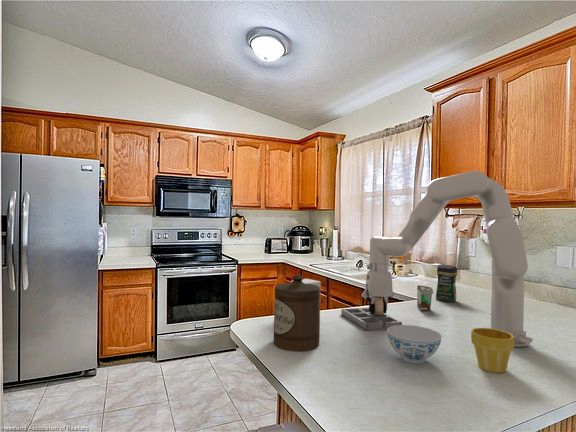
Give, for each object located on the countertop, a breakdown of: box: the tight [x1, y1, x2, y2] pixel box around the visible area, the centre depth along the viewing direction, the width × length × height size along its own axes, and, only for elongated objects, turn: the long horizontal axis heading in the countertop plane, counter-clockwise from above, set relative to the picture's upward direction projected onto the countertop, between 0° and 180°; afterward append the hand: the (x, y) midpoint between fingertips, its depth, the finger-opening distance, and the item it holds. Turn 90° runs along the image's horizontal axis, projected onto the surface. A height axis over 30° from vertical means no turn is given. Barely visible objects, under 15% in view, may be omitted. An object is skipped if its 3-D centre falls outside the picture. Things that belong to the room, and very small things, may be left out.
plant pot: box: [470, 327, 515, 374], centre depth 98 cm, size 10×10×10 cm
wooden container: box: [273, 273, 321, 352], centre depth 114 cm, size 15×15×22 cm
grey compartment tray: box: [340, 307, 403, 332], centre depth 142 cm, size 22×15×2 cm
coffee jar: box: [435, 264, 458, 303], centre depth 185 cm, size 10×8×19 cm
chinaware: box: [386, 324, 443, 364], centre depth 104 cm, size 15×15×8 cm
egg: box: [374, 297, 384, 315], centre depth 143 cm, size 4×4×6 cm
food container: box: [416, 284, 434, 312], centre depth 164 cm, size 12×6×10 cm, turn 168°
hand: (377, 312), depth 143 cm, fingers closed on egg, 4 cm apart
